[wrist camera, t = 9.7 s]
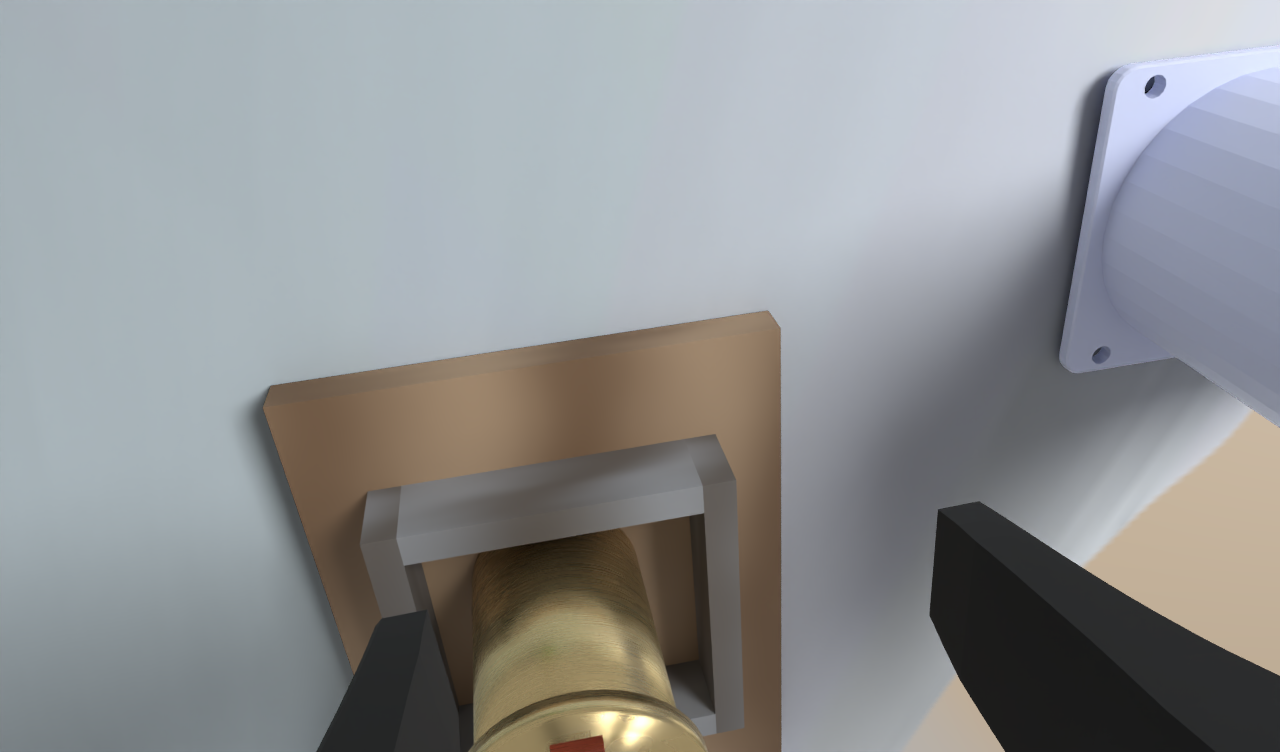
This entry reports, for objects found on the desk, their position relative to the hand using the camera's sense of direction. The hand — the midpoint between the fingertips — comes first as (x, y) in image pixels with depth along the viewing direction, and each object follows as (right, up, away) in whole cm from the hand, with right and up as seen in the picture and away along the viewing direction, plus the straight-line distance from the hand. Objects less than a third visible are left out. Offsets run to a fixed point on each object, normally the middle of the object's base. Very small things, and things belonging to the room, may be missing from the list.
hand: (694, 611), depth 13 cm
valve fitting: (-3, -2, +11) cm, 12 cm away
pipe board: (-3, -3, +13) cm, 14 cm away
